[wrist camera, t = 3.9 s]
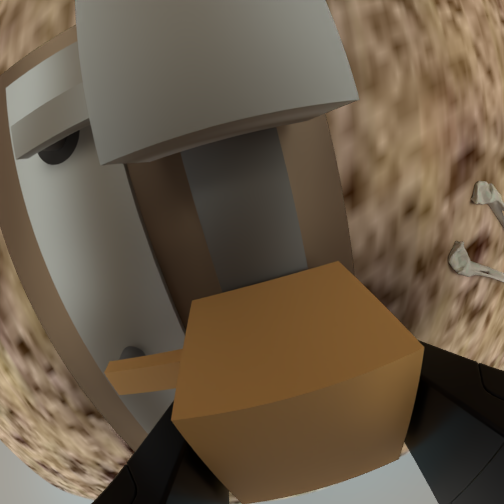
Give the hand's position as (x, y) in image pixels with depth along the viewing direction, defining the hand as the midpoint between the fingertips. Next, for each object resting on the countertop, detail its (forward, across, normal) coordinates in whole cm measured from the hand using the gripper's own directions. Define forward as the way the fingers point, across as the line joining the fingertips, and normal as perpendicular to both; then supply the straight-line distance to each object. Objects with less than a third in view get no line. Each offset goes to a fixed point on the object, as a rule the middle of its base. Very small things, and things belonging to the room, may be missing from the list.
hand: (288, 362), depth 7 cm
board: (+4, +3, -1) cm, 5 cm away
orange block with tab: (+2, +2, 0) cm, 3 cm away
